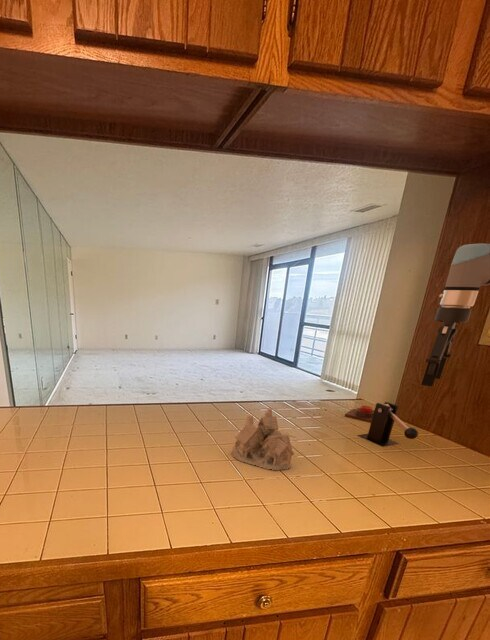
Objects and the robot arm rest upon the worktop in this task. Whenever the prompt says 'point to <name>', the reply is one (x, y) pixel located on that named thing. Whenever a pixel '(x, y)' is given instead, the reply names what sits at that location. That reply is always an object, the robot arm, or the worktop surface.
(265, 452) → the ceramic cottage
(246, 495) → the worktop surface
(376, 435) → the bracket
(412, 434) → the switch lever
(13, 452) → the worktop surface
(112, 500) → the worktop surface
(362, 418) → the button block
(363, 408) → the red button
